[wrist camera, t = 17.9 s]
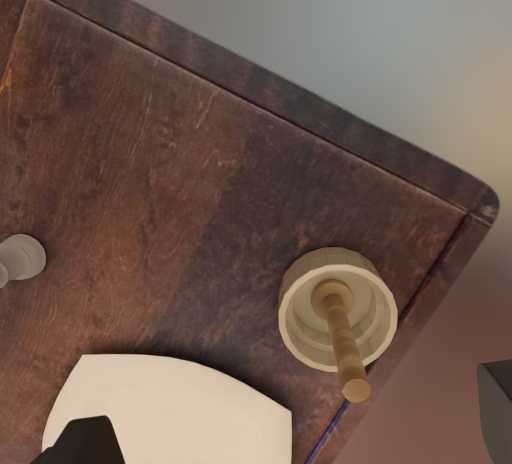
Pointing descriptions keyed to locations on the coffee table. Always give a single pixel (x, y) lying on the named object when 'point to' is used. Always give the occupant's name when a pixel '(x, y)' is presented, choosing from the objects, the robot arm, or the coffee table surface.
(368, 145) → the coffee table surface
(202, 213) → the coffee table surface
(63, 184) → the coffee table surface
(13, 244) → the rook chess piece
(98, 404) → the plate
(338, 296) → the tan tall turned piece
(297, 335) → the bowl
